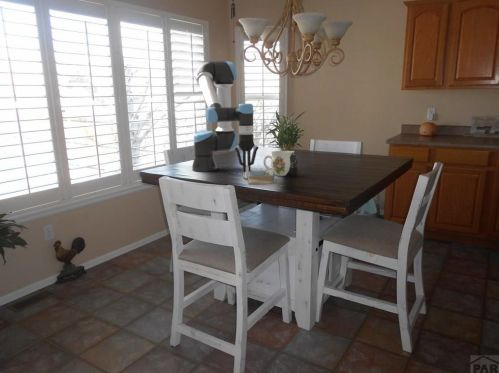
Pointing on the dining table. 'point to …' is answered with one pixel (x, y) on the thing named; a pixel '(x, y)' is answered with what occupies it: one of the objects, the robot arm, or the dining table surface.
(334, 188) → the dining table surface
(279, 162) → the pitcher
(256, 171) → the keeper
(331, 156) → the dining table surface
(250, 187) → the dining table surface
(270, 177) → the dock
